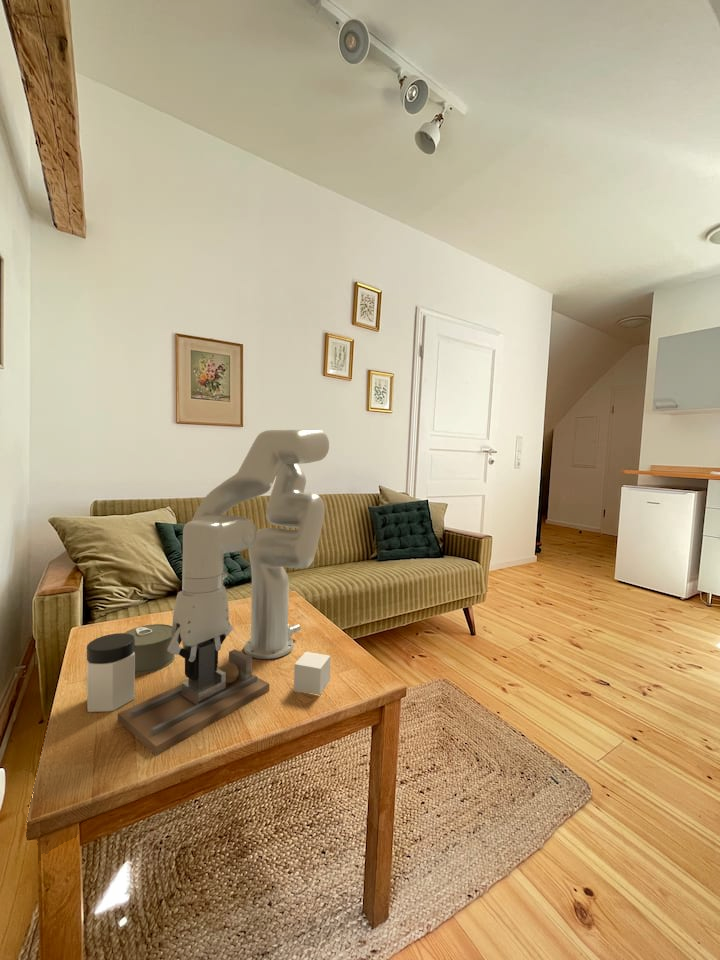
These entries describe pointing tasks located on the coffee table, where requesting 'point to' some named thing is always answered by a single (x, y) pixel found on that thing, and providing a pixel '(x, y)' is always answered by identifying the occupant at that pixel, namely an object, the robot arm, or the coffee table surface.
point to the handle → (204, 676)
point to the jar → (110, 672)
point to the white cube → (312, 673)
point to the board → (191, 707)
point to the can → (152, 647)
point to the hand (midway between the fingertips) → (201, 672)
